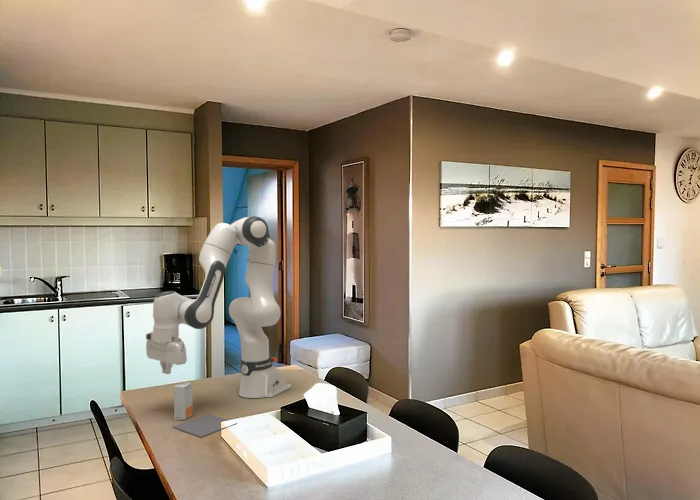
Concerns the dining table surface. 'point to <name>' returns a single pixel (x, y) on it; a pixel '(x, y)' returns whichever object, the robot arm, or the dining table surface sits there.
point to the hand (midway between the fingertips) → (166, 373)
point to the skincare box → (183, 401)
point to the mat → (201, 425)
